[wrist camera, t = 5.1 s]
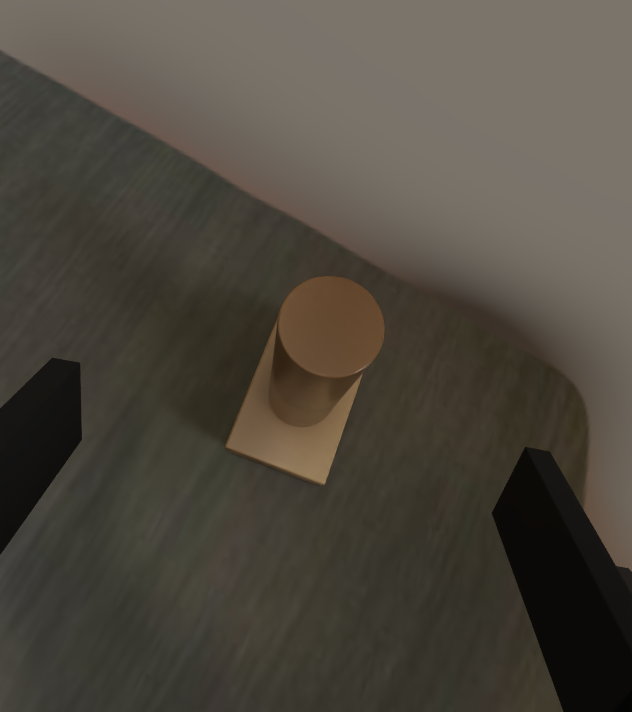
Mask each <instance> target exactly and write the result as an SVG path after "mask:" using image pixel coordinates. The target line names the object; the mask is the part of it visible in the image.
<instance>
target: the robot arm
mask: <svg viewBox="0 0 632 712" xmlns="http://www.w3.org/2000/svg"><path fill="white" fill-rule="evenodd" d="M81 440H82V429H81V384H80V363H78V362H73V361H67V360H62V359H57V358H52V359H51V360H50V361H48V362H47V363H46V364H45V365H44V366H43V367H42V368H41V369H40V370H39V371H38V372H37V373H36V374H35V375H34V376H33V377H32V378H31V379H30V380H29V381H28V382H27V383H26V384H25V385H24V386H23V387H22V388H21V389H20V390H19V391H18V392H17V393H16V394H15V395H14V396H13V397H12V398H11V399H10V400H9V401H8V402H7V403H6V404H4V405H3V406H2V407H1V408H0V554H1V553H2V552H3V550H4V549H5V547H6V546H7V545H8V543H9V542H10V540H11V539H12V538H13V536H14V535H15V533H16V532H17V530H18V529H19V528H20V526H21V525H22V523H23V522H24V521H25V519H26V518H27V516H28V515H29V513H30V512H31V511H32V509H33V508H34V506H35V505H36V504H37V502H38V501H39V499H40V498H41V497H42V495H43V494H44V492H45V491H46V489H47V488H48V487H49V485H50V484H51V482H52V481H53V480H54V478H55V477H56V475H57V474H58V473H59V471H60V470H61V468H62V467H63V465H64V464H65V463H66V461H67V460H68V458H69V457H70V456H71V454H72V453H73V451H74V450H75V448H76V447H77V446H78V444H79V443H80V441H81ZM492 515H493V518H494V521H495V523H496V526H497V529H498V532H499V534H500V537H501V540H502V543H503V546H504V548H505V551H506V554H507V557H508V559H509V562H510V565H511V568H512V570H513V573H514V576H515V579H516V582H517V584H518V587H519V590H520V593H521V595H522V598H523V601H524V604H525V606H526V609H527V612H528V615H529V618H530V620H531V623H532V626H533V629H534V631H535V634H536V637H537V640H538V642H539V645H540V648H541V651H542V654H543V656H544V659H545V662H546V665H547V667H548V670H549V673H550V676H551V678H552V681H553V684H554V687H555V690H556V692H557V695H558V698H559V701H560V703H561V706H562V709H563V712H632V572H631V571H630V570H629V569H628V568H623V567H618V566H616V565H615V564H614V562H613V560H612V558H611V557H610V555H609V553H608V552H607V550H606V548H605V546H604V545H603V543H602V541H601V539H600V538H599V536H598V534H597V533H596V531H595V529H594V527H593V526H592V524H591V522H590V520H589V519H588V517H587V515H586V513H585V512H584V510H583V508H582V507H581V505H580V503H579V501H578V500H577V498H576V496H575V494H574V493H573V491H572V489H571V488H570V486H569V484H568V482H567V481H566V479H565V477H564V475H563V474H562V472H561V470H560V468H559V467H558V465H557V463H556V462H555V460H554V458H553V456H552V455H551V453H550V452H549V451H544V450H539V449H533V448H528V447H525V449H524V451H523V453H522V454H521V456H520V458H519V460H518V462H517V464H516V466H515V468H514V470H513V472H512V474H511V476H510V478H509V480H508V482H507V484H506V486H505V488H504V490H503V492H502V494H501V496H500V498H499V500H498V502H497V504H496V506H495V508H494V510H493V512H492Z"/></svg>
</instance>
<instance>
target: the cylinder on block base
mask: <svg viewBox="0 0 632 712" xmlns="http://www.w3.org/2000/svg"><path fill="white" fill-rule="evenodd" d="M384 334H385V325H384V319H383V315H382V312H381V310H380V308H379V306H378V304H377V302H376V301H375V299H374V298H373V297H372V295H371V294H370V293H369V292H368V291H367V290H366V289H364V288H363V287H362V286H360V285H359V284H357V283H355V282H353V281H351V280H349V279H345V278H342V277H337V276H321V277H316V278H312V279H309V280H307V281H305V282H303V283H301V284H300V285H298V286H297V287H295V288H294V289H293V290H292V291H291V292H290V293H289V294H288V295H287V297H286V298H285V300H284V302H283V304H282V306H281V308H280V311H279V315H278V318H277V320H276V323H275V325H274V328H273V330H272V332H271V335H270V337H269V340H268V342H267V345H266V347H265V349H264V352H263V354H262V357H261V359H260V362H259V364H258V366H257V369H256V371H255V374H254V376H253V379H252V381H251V383H250V386H249V388H248V391H247V393H246V395H245V398H244V400H243V403H242V405H241V408H240V410H239V412H238V415H237V417H236V420H235V422H234V425H233V427H232V429H231V432H230V434H229V437H228V439H227V442H226V444H225V448H226V450H227V451H228V452H230V453H233V454H236V455H238V456H241V457H244V458H246V459H249V460H252V461H254V462H257V463H259V464H262V465H265V466H267V467H270V468H273V469H275V470H278V471H281V472H283V473H286V474H289V475H291V476H294V477H296V478H299V479H302V480H304V481H307V482H310V483H312V484H315V485H318V486H321V485H324V484H325V483H326V480H327V477H328V474H329V471H330V468H331V465H332V462H333V459H334V456H335V453H336V451H337V448H338V445H339V442H340V439H341V436H342V433H343V430H344V427H345V424H346V421H347V418H348V416H349V413H350V410H351V407H352V404H353V401H354V398H355V395H356V392H357V389H358V386H359V383H360V381H361V378H362V375H363V372H364V371H365V370H366V369H367V368H368V366H369V365H370V364H371V363H372V362H373V360H374V359H375V358H376V357H377V355H378V353H379V352H380V349H381V347H382V344H383V340H384Z"/></svg>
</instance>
